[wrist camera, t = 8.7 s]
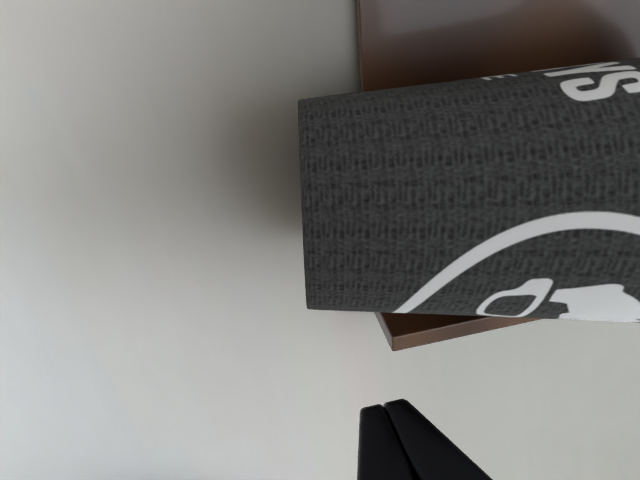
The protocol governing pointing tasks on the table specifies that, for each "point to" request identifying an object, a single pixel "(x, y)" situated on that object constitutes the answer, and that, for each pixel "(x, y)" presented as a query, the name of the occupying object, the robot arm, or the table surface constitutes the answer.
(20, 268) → the table surface
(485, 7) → the open-ended tray
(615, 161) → the coffee cup
